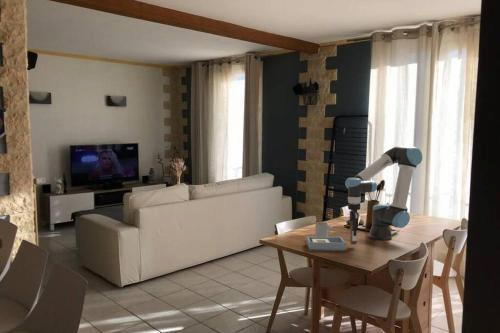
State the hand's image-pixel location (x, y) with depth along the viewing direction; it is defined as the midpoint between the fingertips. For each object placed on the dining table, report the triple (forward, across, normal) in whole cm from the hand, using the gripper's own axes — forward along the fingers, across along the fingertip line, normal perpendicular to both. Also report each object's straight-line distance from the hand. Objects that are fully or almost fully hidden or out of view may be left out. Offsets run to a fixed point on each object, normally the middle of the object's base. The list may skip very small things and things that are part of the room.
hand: (353, 239), depth 252 cm
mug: (+5, -20, -16) cm, 26 cm away
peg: (+3, 0, 0) cm, 3 cm away
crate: (+5, 0, -18) cm, 18 cm away
